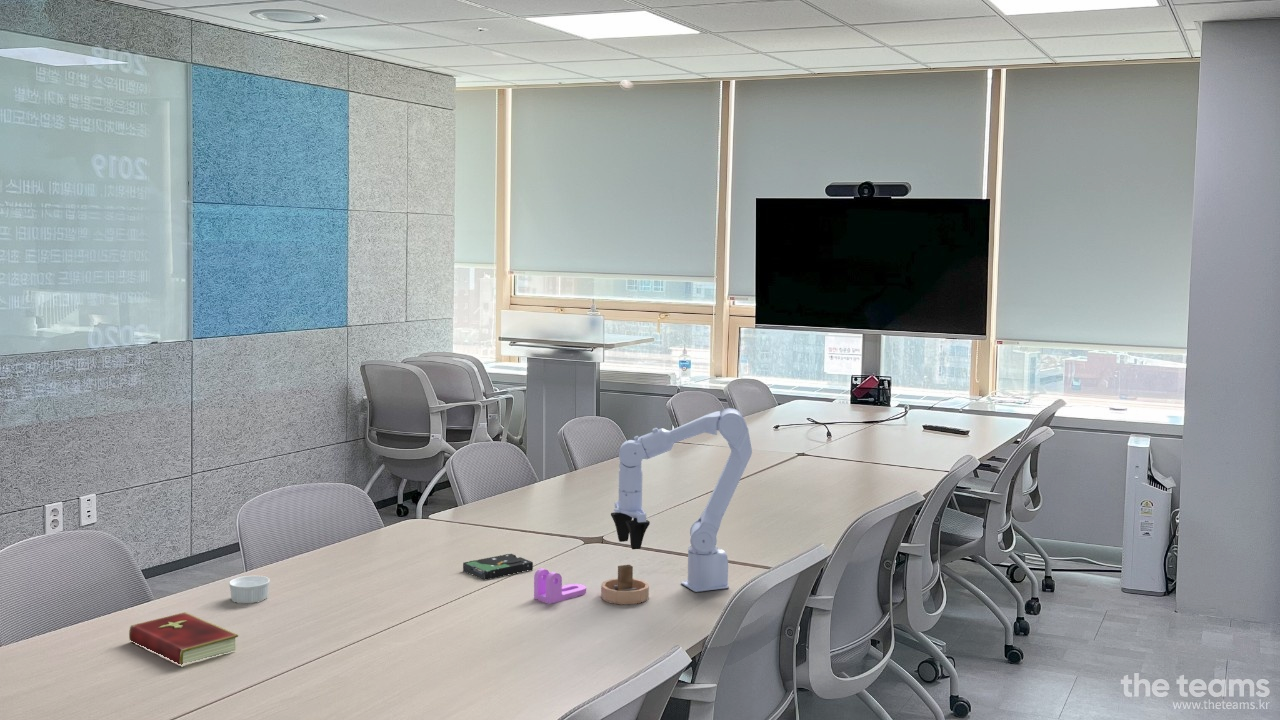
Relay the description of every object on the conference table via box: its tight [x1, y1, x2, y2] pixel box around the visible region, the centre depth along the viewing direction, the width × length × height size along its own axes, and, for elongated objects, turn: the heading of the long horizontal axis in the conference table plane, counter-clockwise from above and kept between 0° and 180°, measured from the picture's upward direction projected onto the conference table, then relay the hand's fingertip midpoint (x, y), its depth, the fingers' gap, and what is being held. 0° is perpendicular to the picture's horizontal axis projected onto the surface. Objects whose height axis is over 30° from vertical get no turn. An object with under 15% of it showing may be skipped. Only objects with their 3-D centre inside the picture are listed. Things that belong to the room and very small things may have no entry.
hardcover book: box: [128, 611, 239, 665], centre depth 226 cm, size 12×21×4 cm, turn 50°
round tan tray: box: [600, 577, 650, 606], centre depth 264 cm, size 11×11×3 cm
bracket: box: [533, 567, 587, 605], centre depth 264 cm, size 13×6×7 cm, turn 135°
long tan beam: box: [617, 564, 634, 591], centre depth 264 cm, size 3×2×7 cm, turn 114°
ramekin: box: [228, 575, 271, 604], centre depth 258 cm, size 9×9×4 cm
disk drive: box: [462, 553, 534, 581], centre depth 285 cm, size 10×3×15 cm
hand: (629, 545), depth 273 cm, fingers open, 7 cm apart
